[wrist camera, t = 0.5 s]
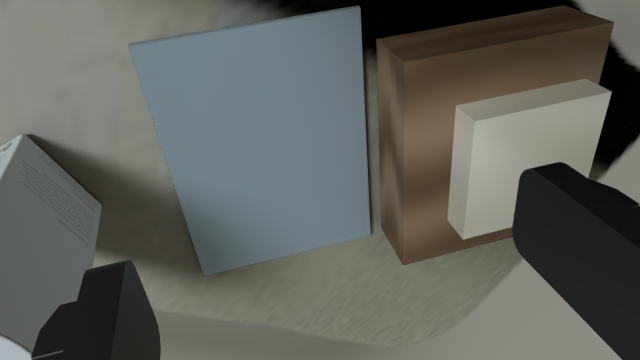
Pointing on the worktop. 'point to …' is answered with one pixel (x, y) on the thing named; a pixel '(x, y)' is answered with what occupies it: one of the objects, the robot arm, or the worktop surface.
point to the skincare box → (39, 242)
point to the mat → (263, 134)
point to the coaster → (518, 148)
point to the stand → (460, 88)
